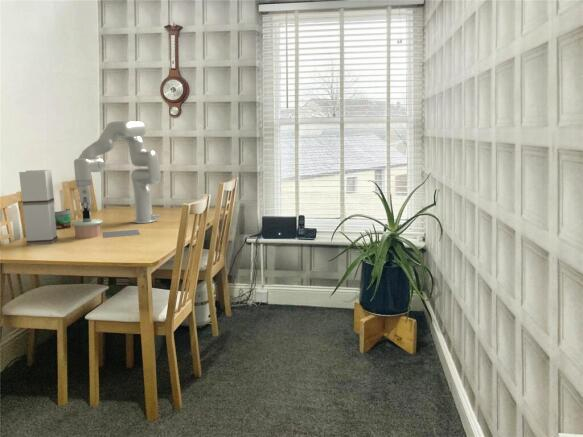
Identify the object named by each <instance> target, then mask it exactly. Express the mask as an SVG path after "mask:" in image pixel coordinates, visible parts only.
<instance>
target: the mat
mask: <svg viewBox="0 0 583 437" xmlns="http://www.w3.org/2000/svg"><path fill="white" fill-rule="evenodd" d="M140 235H141V232H140V231H139V229H128V230H115V231H113V230H112V231H104V232H102V238H103V239H104V238H107V239H108V238H119V237H128V236H129V237H130V236H140Z"/></svg>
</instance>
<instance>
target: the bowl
mask: <svg viewBox="0 0 583 437" xmlns="http://www.w3.org/2000/svg"><path fill="white" fill-rule="evenodd" d="M74 233H75V234H74V235H75V238H76V239H93V238H98V237H100V236H102V235H101V233H102V232H101V224H97V225H90V226H74Z"/></svg>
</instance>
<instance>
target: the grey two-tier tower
mask: <svg viewBox="0 0 583 437" xmlns="http://www.w3.org/2000/svg"><path fill="white" fill-rule="evenodd" d="M18 175H19V182H20V184H19V185H20V192H21V201H22V202H21V203H22V204H21V205H22V210H23V211H22V212H23V221H24V230H25V231H24V232H25V240H26V246H32V245H31V244H39V245H53V244H54V243H55V242H57V241H58V240H59V238H58V235H57V234H58V232H57V229H56V222H55V212H56V211H55V197H54V186H53V185H54V184H53V174H52V169H36V170H33V169H31V170H25V171H19V172H18ZM56 240H57V241H56ZM53 242H54V243H53Z"/></svg>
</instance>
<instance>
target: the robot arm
mask: <svg viewBox="0 0 583 437" xmlns="http://www.w3.org/2000/svg"><path fill="white" fill-rule="evenodd" d="M146 132H147V127H146V125H145V124H144V122H142V121H140V120H139V121H138V120H137V121H136V120H135V121H129V120H128V121H127V120H122V121H111V122H108V124H107V125H106V126H105V127H104V129H103V131H102V132H101V135H100V136H99V138H98V139H97V140H96V141H94V142H92V143H91V144H90V145H89V146H87V147H86V148H85V149H84V150H83V151H82V152H81V154H80V155H79V157H78V158H75V159H74V160H73V165H74V167H73V168H74V169H73V170H74V180H75V187H76V188H77V187H78V194H79V201H80V206H82V212H83V216H82V220H83V219H89V218H90V212H89V211H91V210H90V206H92V195H91V194H92V193H91V192H92V191H91V187H92V186H93V183H92V173H100V172H102V171H103V170H104V169H105V168H106V162H105V160H104V159H103V158H101V157H98V156H100V155H101V156H102V155H103V154H106V153H108V152H110V151H112V150H113V148H115V145H116V144H117V142H118V141H119V139H120V138H123V139H124V141H125V142H127V145H128V150H129V151H128V152H129V155H130V157H129V158H130V162H131V164H132V165H133V166H134V167H146V168H135V169H133V170H132V171H131V174H130V179H131V183H132V187H133V193H134V196H133V197H134V208H135V209H134V210H135V211H134V212H135V219H133V223H134V224H147V223H154V222H156V219H157V218H158V219H160V218H161V214H154V213H153V206H152V191H151V189H150V187H149V185H150V186H151V185H152V186H156V185H158V184H160V182H161V181H162V180H161V179H162V174H161V168H160V161H159V156H158V154H157V152H156V151H155V150H153V149H145V145H144V144H145V143H144V140H143V138H142V137H143V136H144V135H145V134H146Z"/></svg>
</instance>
